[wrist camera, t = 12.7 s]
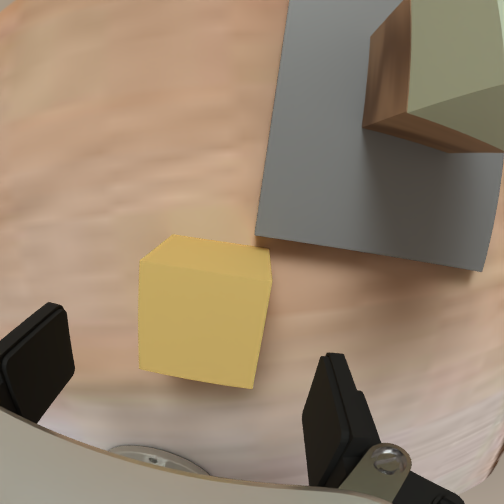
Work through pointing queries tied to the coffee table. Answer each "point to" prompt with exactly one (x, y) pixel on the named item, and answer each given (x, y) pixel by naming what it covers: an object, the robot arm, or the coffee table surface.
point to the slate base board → (363, 155)
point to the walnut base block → (404, 91)
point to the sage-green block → (459, 66)
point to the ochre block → (203, 310)
